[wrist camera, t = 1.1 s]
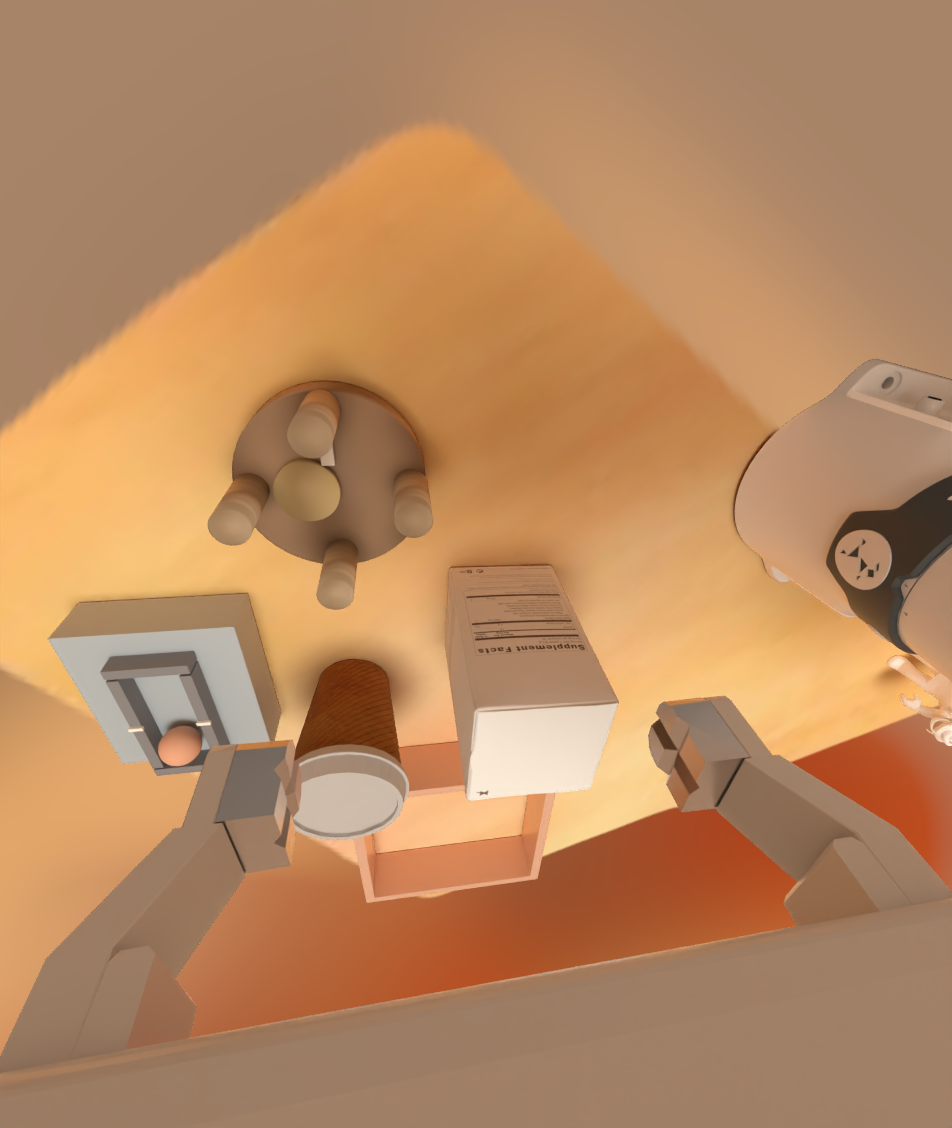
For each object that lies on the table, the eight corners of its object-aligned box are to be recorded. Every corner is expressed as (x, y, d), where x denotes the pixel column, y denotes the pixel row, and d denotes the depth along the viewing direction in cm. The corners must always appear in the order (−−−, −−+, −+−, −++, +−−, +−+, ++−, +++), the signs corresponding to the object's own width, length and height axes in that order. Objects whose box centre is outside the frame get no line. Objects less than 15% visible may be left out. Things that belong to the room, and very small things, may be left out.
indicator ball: (201, 716, 39) (188, 748, 37) (211, 739, 41) (200, 772, 39) (161, 719, 39) (145, 752, 36) (173, 743, 41) (158, 776, 38)
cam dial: (423, 379, 31) (430, 414, 25) (427, 543, 38) (434, 603, 32) (219, 379, 29) (173, 417, 23) (262, 551, 36) (235, 615, 30)
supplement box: (539, 643, 46) (593, 793, 34) (443, 647, 44) (463, 805, 32) (555, 562, 41) (625, 703, 29) (448, 564, 39) (473, 713, 27)
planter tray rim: (546, 732, 53) (559, 774, 49) (528, 838, 66) (537, 878, 61) (349, 752, 51) (345, 798, 46) (368, 859, 63) (366, 902, 59)
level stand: (247, 593, 38) (227, 643, 34) (281, 712, 46) (268, 766, 41) (78, 602, 37) (32, 656, 32) (142, 724, 44) (113, 782, 40)
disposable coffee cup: (340, 628, 42) (324, 751, 32) (426, 674, 46) (436, 794, 36) (279, 693, 45) (246, 822, 35) (365, 730, 49) (358, 854, 39)
